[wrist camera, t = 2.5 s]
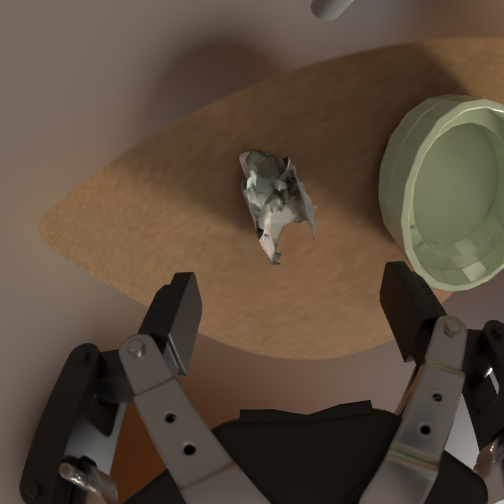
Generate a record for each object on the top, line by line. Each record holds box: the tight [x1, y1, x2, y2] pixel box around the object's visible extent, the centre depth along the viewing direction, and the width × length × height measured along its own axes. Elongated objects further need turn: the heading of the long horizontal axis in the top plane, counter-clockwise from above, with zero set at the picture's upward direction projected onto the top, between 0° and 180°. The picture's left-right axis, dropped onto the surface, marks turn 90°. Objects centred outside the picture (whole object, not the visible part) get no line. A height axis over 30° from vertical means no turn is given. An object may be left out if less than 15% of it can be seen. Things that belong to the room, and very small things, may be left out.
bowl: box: [378, 94, 504, 291], centre depth 17 cm, size 15×15×5 cm
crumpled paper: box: [239, 150, 317, 265], centre depth 18 cm, size 4×8×7 cm, turn 21°
